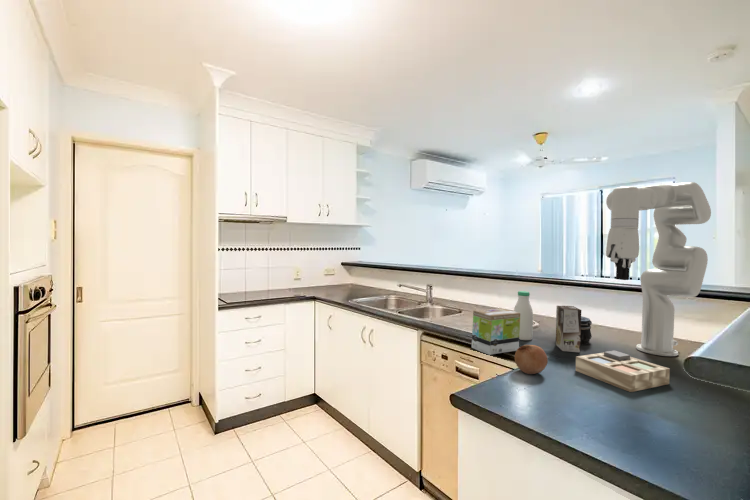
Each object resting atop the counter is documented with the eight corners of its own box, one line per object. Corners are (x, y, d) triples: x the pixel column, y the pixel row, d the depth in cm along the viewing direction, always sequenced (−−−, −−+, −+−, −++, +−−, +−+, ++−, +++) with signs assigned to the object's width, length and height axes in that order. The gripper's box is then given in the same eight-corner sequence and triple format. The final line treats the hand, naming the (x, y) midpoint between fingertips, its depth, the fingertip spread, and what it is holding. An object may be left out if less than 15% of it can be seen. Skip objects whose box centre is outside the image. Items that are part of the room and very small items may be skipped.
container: (580, 347, 139) (581, 322, 139) (550, 339, 150) (550, 315, 150) (598, 343, 146) (598, 319, 146) (567, 335, 157) (568, 313, 157)
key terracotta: (621, 375, 107) (622, 365, 107) (639, 381, 102) (639, 371, 102) (610, 377, 105) (610, 367, 105) (627, 383, 100) (628, 373, 100)
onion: (521, 384, 109) (509, 356, 108) (520, 366, 118) (509, 340, 116) (554, 378, 105) (542, 349, 104) (550, 360, 114) (539, 333, 112)
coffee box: (580, 352, 132) (582, 309, 132) (562, 351, 133) (563, 308, 133) (572, 345, 141) (573, 305, 141) (554, 344, 142) (556, 304, 142)
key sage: (638, 372, 110) (638, 362, 110) (655, 378, 105) (656, 368, 105) (627, 374, 108) (627, 364, 108) (644, 380, 103) (645, 370, 103)
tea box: (490, 356, 127) (491, 315, 126) (471, 348, 135) (471, 310, 135) (520, 350, 133) (521, 311, 133) (499, 343, 142) (500, 307, 142)
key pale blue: (598, 367, 114) (598, 357, 114) (613, 372, 109) (613, 362, 109) (587, 368, 112) (587, 359, 112) (602, 374, 107) (602, 364, 107)
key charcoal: (614, 359, 117) (614, 350, 116) (629, 364, 112) (630, 355, 112) (603, 361, 115) (604, 351, 115) (619, 366, 110) (619, 356, 110)
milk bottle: (533, 337, 152) (535, 291, 152) (530, 341, 146) (532, 293, 145) (514, 334, 156) (516, 289, 156) (511, 338, 150) (512, 291, 149)
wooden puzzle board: (611, 364, 120) (612, 351, 119) (669, 384, 104) (669, 368, 104) (575, 370, 113) (576, 356, 113) (630, 392, 97) (631, 375, 97)
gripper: (627, 225, 124) (625, 277, 124) (597, 224, 118) (596, 278, 119) (651, 224, 117) (649, 280, 117) (620, 223, 111) (618, 281, 112)
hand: (622, 279), depth 118 cm, fingers closed
